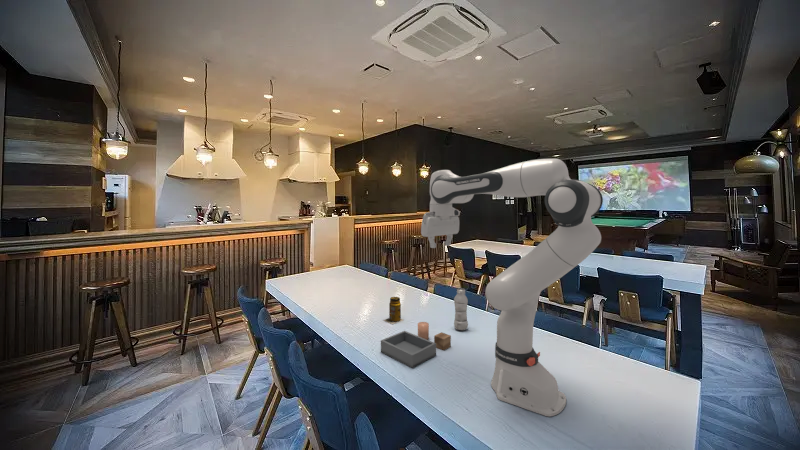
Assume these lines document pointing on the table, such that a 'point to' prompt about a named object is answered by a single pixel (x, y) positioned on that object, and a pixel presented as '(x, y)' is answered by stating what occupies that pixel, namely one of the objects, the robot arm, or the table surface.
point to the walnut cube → (442, 341)
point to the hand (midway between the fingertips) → (440, 246)
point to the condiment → (394, 311)
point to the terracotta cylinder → (423, 330)
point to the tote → (408, 348)
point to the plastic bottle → (460, 310)
